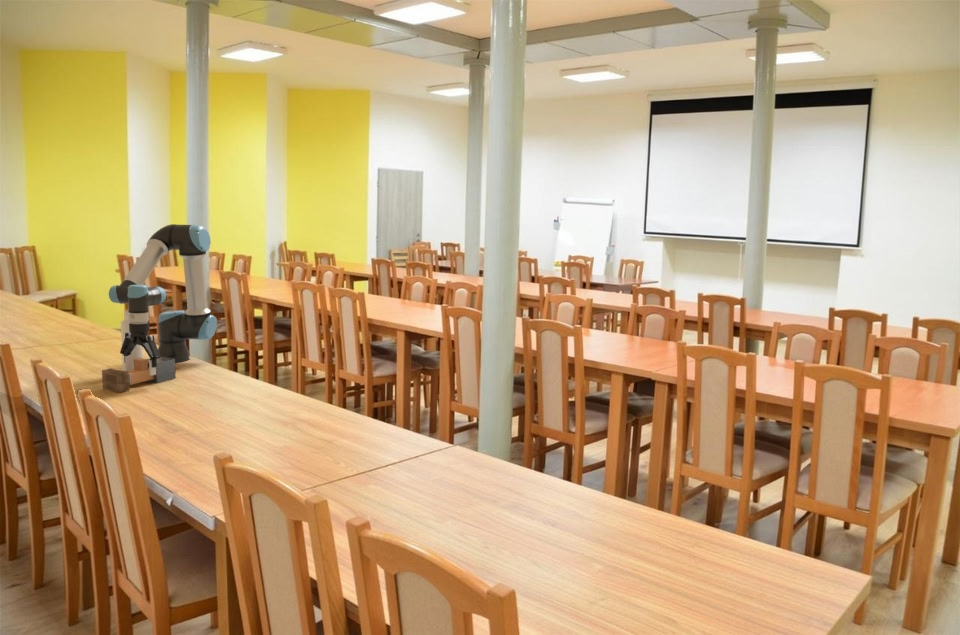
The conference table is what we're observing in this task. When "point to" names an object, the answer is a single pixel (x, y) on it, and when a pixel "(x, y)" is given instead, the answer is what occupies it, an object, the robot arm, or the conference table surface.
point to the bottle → (137, 349)
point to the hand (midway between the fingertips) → (140, 373)
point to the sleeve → (164, 370)
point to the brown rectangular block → (115, 380)
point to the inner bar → (139, 371)
